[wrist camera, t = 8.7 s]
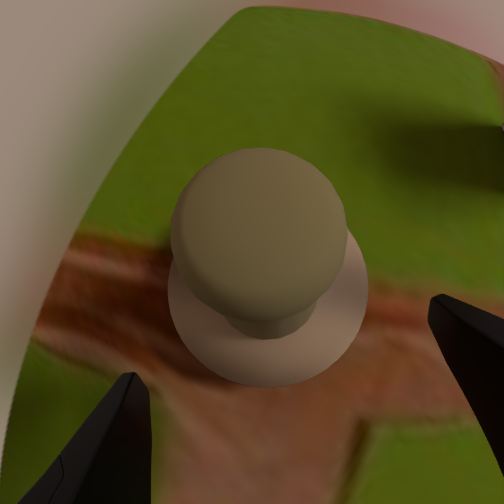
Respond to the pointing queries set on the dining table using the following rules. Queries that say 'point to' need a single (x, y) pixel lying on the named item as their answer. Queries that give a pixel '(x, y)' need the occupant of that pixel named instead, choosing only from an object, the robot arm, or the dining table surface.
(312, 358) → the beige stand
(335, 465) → the dining table surface
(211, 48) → the dining table surface
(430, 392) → the dining table surface
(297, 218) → the cork
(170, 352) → the dining table surface
